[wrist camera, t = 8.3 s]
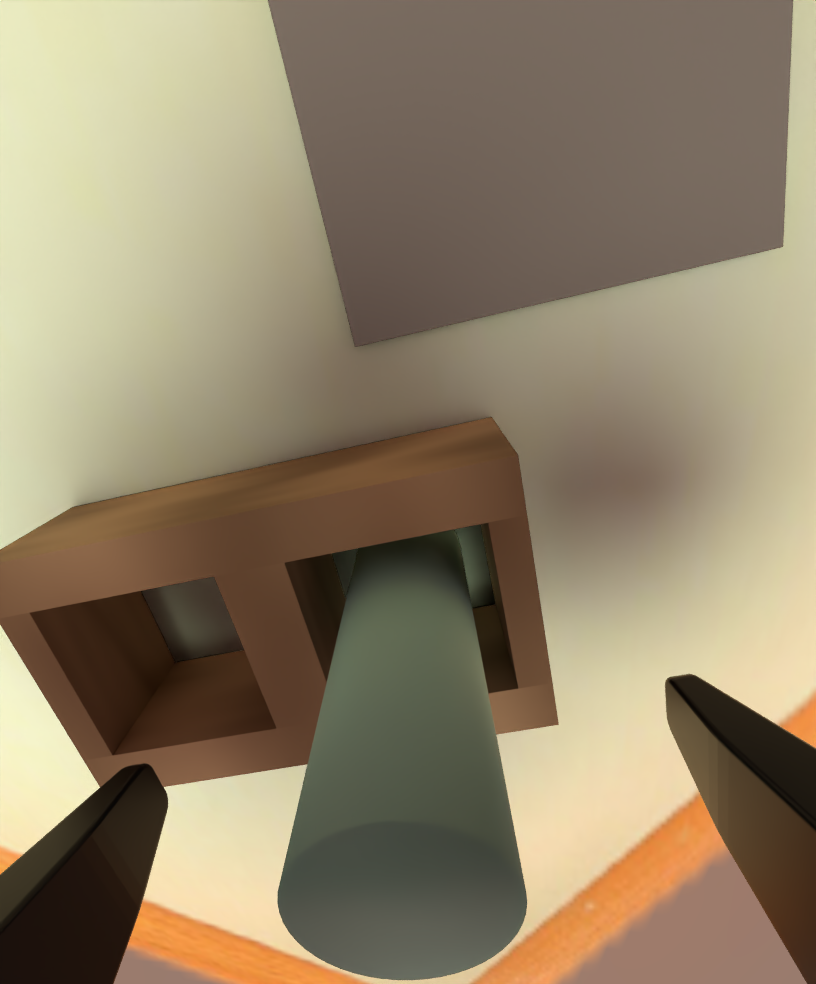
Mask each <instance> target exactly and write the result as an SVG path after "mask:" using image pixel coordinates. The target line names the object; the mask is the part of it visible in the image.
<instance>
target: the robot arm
mask: <svg viewBox="0 0 816 984" xmlns="http://www.w3.org/2000/svg"><path fill="white" fill-rule="evenodd" d="M665 693H666V712H667V720H668V724H669V727H670V730H671V732H672V734H673V736H674V738H675V741H676V743H677V745H678V747H679V749H680V751H681V753H682V756H683V758H684V760H685V762H686V764H687V766H688V768H689V771H690V773H691V775H692V777H693V779H694V781H695V783H696V786H697V788H698V790H699V792H700V794H701V796H702V798H703V801H704V803H705V805H706V807H707V809H708V811H709V813H710V816H711V818H712V820H713V822H714V824H715V826H716V828H717V830H718V832H719V834H720V835H721V837H722V839H723V841H724V843H725V844H726V846H727V848H728V850H729V851H730V853H731V855H732V856H733V858H734V860H735V862H736V863H737V865H738V867H739V868H740V870H741V872H742V873H743V875H744V877H745V879H746V880H747V882H748V884H749V885H750V887H751V889H752V891H753V892H754V894H755V896H756V897H757V899H758V901H759V902H760V904H761V906H762V908H763V909H764V911H765V913H766V914H767V916H768V918H769V919H770V921H771V923H772V924H773V926H774V928H775V929H776V931H777V933H778V935H779V936H780V938H781V940H782V942H783V943H784V945H785V947H786V948H787V950H788V952H789V953H790V955H791V957H792V959H793V960H794V962H795V964H796V965H797V967H798V969H799V970H800V972H801V974H802V976H803V977H804V979H805V981H806V982H807V984H816V748H815V747H813V746H811V745H810V744H808V743H806V742H805V741H803V740H801V739H800V738H798V737H796V736H795V735H793V734H791V733H790V732H788V731H787V730H785V729H783V728H782V727H780V726H778V725H777V724H775V723H773V722H772V721H770V720H768V719H767V718H765V717H763V716H762V715H760V714H759V713H757V712H755V711H754V710H752V709H750V708H749V707H747V706H745V705H744V704H742V703H740V702H739V701H737V700H735V699H734V698H732V697H730V696H729V695H727V694H726V693H724V692H722V691H721V690H719V689H717V688H716V687H714V686H712V685H711V684H709V683H707V682H706V681H704V680H702V679H701V678H699V677H697V676H695V675H692V674H686V675H679V676H673V677H669V678H667V680H666V682H665ZM167 809H168V797H167V793H166V791H165V789H164V787H163V786H162V784H161V782H160V780H159V778H158V777H157V775H156V773H155V771H154V769H153V768H152V766H151V765H149V764H146V763H143V764H137V765H131V766H127V767H124V768H122V769H121V770H120V771H119V772H117V773H116V774H115V775H114V776H113V777H112V778H111V779H109V780H108V781H107V782H106V783H105V784H104V785H103V786H101V787H100V788H99V789H98V790H97V791H96V792H94V793H93V794H92V795H91V796H90V797H89V798H88V799H86V800H85V801H84V802H83V803H82V804H81V805H80V806H78V807H77V808H76V809H75V810H74V811H73V812H72V813H70V814H69V815H68V816H67V817H66V818H65V819H64V820H62V821H61V822H60V823H59V824H58V825H57V826H55V827H54V828H53V829H52V830H51V831H50V832H49V833H47V834H46V835H45V836H44V837H43V838H42V839H41V840H39V841H38V842H37V843H36V844H35V845H34V846H33V847H31V848H30V849H29V850H28V851H27V852H26V853H24V854H23V855H22V856H21V857H20V858H19V859H18V860H16V861H15V862H14V863H13V864H12V865H11V866H10V867H8V868H7V869H6V870H5V871H4V872H3V873H2V874H0V984H113V983H114V981H115V978H116V975H117V973H118V970H119V967H120V964H121V961H122V959H123V956H124V953H125V950H126V948H127V945H128V942H129V939H130V936H131V934H132V931H133V928H134V925H135V922H136V919H137V916H138V913H139V910H140V907H141V904H142V900H143V897H144V894H145V890H146V887H147V883H148V879H149V876H150V872H151V868H152V865H153V861H154V857H155V854H156V850H157V846H158V842H159V839H160V835H161V831H162V828H163V824H164V820H165V817H166V813H167Z"/></svg>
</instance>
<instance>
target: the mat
mask: <svg viewBox="0 0 816 984" xmlns="http://www.w3.org/2000/svg"><path fill="white" fill-rule="evenodd" d="M268 3H269V7H270V11H271V15H272V19H273V23H274V26H275V30H276V34H277V38H278V42H279V46H280V50H281V54H282V58H283V62H284V66H285V70H286V74H287V78H288V82H289V86H290V90H291V94H292V98H293V102H294V106H295V110H296V114H297V118H298V122H299V126H300V130H301V134H302V138H303V142H304V146H305V150H306V154H307V158H308V162H309V166H310V170H311V173H312V177H313V181H314V185H315V189H316V193H317V197H318V201H319V205H320V209H321V213H322V217H323V221H324V225H325V229H326V233H327V237H328V241H329V245H330V249H331V253H332V257H333V261H334V265H335V269H336V273H337V277H338V281H339V285H340V289H341V293H342V297H343V301H344V305H345V309H346V313H347V317H348V321H349V324H350V328H351V332H352V336H353V340H354V344H355V347H357V346H361V345H366V344H370V343H374V342H378V341H383V340H387V339H391V338H396V337H400V336H404V335H408V334H413V333H417V332H421V331H425V330H430V329H434V328H438V327H443V326H447V325H451V324H455V323H460V322H464V321H468V320H472V319H477V318H481V317H485V316H489V315H494V314H498V313H502V312H507V311H511V310H515V309H519V308H524V307H528V306H532V305H536V304H541V303H545V302H549V301H554V300H558V299H562V298H566V297H571V296H575V295H579V294H583V293H588V292H592V291H596V290H601V289H605V288H609V287H613V286H618V285H622V284H626V283H630V282H635V281H639V280H643V279H648V278H652V277H656V276H660V275H665V274H669V273H673V272H677V271H682V270H686V269H690V268H695V267H699V266H703V265H707V264H712V263H716V262H720V261H724V260H729V259H733V258H737V257H742V256H746V255H750V254H754V253H759V252H763V251H767V250H771V249H776V248H780V247H783V236H784V211H785V186H786V161H787V137H788V112H789V87H790V62H791V38H792V13H793V0H268Z"/></svg>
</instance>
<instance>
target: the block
mask: <svg viewBox="0 0 816 984" xmlns="http://www.w3.org/2000/svg"><path fill="white" fill-rule="evenodd" d="M478 524H481V530H482V535H483V540H484V546H485V551H486V556H487V562H488V567H489V572H490V577H491V583H492V588H493V593H494V599H495V605H490V606H484V607H479V608H473V609H472V610H473V616H474V621H475V626H476V631H477V637H478V642H479V647H480V652H481V658H482V663H483V668H484V674H485V679H486V684H487V689H488V695H489V700H490V705H491V710H492V716H493V721H494V726H495V731H496V734H502V733H508V732H515V731H521V730H527V729H534V728H540V727H546V726H553V725H559V724H558V717H557V711H556V704H555V697H554V691H553V684H552V677H551V671H550V664H549V658H548V651H547V644H546V638H545V631H544V624H543V618H542V611H541V604H540V598H539V591H538V585H537V578H536V571H535V565H534V558H533V551H532V545H531V538H530V531H529V525H528V518H527V512H526V505H525V498H524V492H523V485H522V478H521V472H520V465H519V458H518V454H517V453H516V452H515V450H514V449H513V447H512V446H511V444H510V443H509V441H508V440H507V439H506V437H505V436H504V434H503V433H502V431H501V430H500V428H499V427H498V426H497V424H496V423H495V421H494V420H493V418H492V417H490V418H485V419H480V420H476V421H471V422H466V423H462V424H457V425H453V426H448V427H443V428H439V429H434V430H429V431H425V432H420V433H415V434H411V435H406V436H401V437H397V438H392V439H388V440H383V441H378V442H374V443H369V444H364V445H360V446H355V447H350V448H346V449H341V450H337V451H332V452H327V453H323V454H318V455H313V456H309V457H304V458H299V459H295V460H290V461H285V462H281V463H276V464H272V465H267V466H262V467H258V468H253V469H248V470H244V471H239V472H234V473H230V474H225V475H221V476H216V477H211V478H207V479H202V480H197V481H193V482H188V483H183V484H179V485H174V486H169V487H165V488H160V489H156V490H151V491H146V492H142V493H137V494H132V495H128V496H123V497H118V498H114V499H109V500H105V501H100V502H95V503H91V504H86V505H81V506H77V507H72V508H70V509H69V510H67V511H65V512H63V513H62V514H60V515H58V516H57V517H55V518H53V519H52V520H50V521H48V522H47V523H45V524H43V525H41V526H40V527H38V528H36V529H35V530H33V531H31V532H30V533H28V534H26V535H24V536H23V537H21V538H19V539H18V540H16V541H14V542H13V543H11V544H9V545H8V546H6V547H4V548H2V549H1V550H0V625H1V626H2V628H3V630H4V631H5V633H6V634H7V636H8V638H9V639H10V641H11V643H12V644H13V646H14V648H15V649H16V651H17V652H18V654H19V656H20V657H21V659H22V661H23V662H24V664H25V665H26V667H27V669H28V670H29V672H30V674H31V675H32V677H33V678H34V680H35V682H36V683H37V685H38V687H39V688H40V690H41V692H42V693H43V695H44V696H45V698H46V700H47V701H48V703H49V705H50V706H51V708H52V709H53V711H54V713H55V714H56V716H57V718H58V719H59V721H60V722H61V724H62V726H63V727H64V729H65V731H66V732H67V734H68V736H69V737H70V739H71V740H72V742H73V744H74V745H75V747H76V749H77V750H78V752H79V753H80V755H81V757H82V758H83V760H84V762H85V763H86V765H87V767H88V768H89V770H90V771H91V773H92V775H93V776H94V778H95V780H96V781H97V783H98V784H99V786H100V787H101V786H103V785H104V784H105V783H106V782H107V781H108V780H109V779H111V778H112V777H113V776H114V775H115V774H116V773H117V772H119V771H120V770H121V769H122V768H124V767H127V766H131V765H137V764H143V763H146V764H149V765H151V766H152V768H153V769H154V771H155V773H156V775H157V777H158V778H159V780H160V782H161V784H162V786H163V787H166V786H172V785H178V784H185V783H191V782H197V781H204V780H210V779H216V778H223V777H229V776H235V775H242V774H248V773H254V772H261V771H267V770H273V769H280V768H286V767H292V766H299V765H305V764H308V760H309V756H310V752H311V748H312V743H313V739H314V735H315V730H316V726H317V722H318V718H319V713H320V709H321V705H322V700H323V696H324V692H325V688H326V683H327V679H328V675H329V670H330V666H331V662H332V658H333V653H334V649H335V645H336V640H337V636H338V632H339V628H340V623H341V619H342V615H343V610H344V606H345V602H346V599H345V596H344V592H343V589H342V586H341V583H340V580H339V576H338V573H337V570H336V567H335V564H334V560H333V557H332V554H331V553H336V552H341V551H346V550H351V549H356V548H361V547H366V546H371V545H377V544H382V543H387V542H392V541H397V540H402V539H407V538H412V537H417V536H422V535H427V534H433V533H438V532H443V531H448V530H453V529H458V528H463V527H468V526H473V525H478ZM209 577H214V578H215V581H216V583H217V586H218V588H219V591H220V593H221V595H222V598H223V600H224V603H225V605H226V607H227V610H228V612H229V615H230V617H231V619H232V622H233V624H234V627H235V629H236V632H237V634H238V636H239V639H240V641H241V644H242V646H243V648H244V650H241V651H236V652H230V653H225V654H219V655H214V656H208V657H203V658H197V659H192V660H186V661H181V662H175V661H174V659H173V657H172V655H171V653H170V651H169V649H168V647H167V645H166V643H165V641H164V639H163V636H162V634H161V632H160V630H159V628H158V626H157V624H156V622H155V620H154V618H153V616H152V614H151V611H150V609H149V607H148V605H147V603H146V601H145V599H144V597H143V595H142V593H141V591H142V590H147V589H153V588H158V587H163V586H168V585H173V584H178V583H183V582H188V581H193V580H198V579H203V578H209Z"/></svg>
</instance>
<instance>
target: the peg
mask: <svg viewBox="0 0 816 984" xmlns="http://www.w3.org/2000/svg"><path fill="white" fill-rule="evenodd" d="M278 908H279V913H280V915H281V918H282V921H283V923H284V925H285V926H286V928H287V930H288V931H289V933H290V934H291V935H292V936H293V937H294V939H295V940H296V941H297V942H298V943H299V944H300V945H301V946H303V947H304V948H305V949H306V950H307V951H309V952H310V953H312V954H313V955H314V956H316V957H318V958H319V959H321V960H323V961H325V962H327V963H329V964H331V965H333V966H336V967H338V968H340V969H343V970H346V971H349V972H352V973H356V974H360V975H364V976H368V977H374V978H381V979H391V980H420V979H430V978H437V977H443V976H447V975H451V974H455V973H458V972H461V971H464V970H467V969H470V968H472V967H475V966H477V965H479V964H481V963H483V962H485V961H487V960H488V959H490V958H492V957H493V956H495V955H496V954H497V953H499V952H500V951H501V950H503V949H504V948H505V947H506V946H507V945H508V944H509V943H510V942H511V941H512V940H513V938H514V937H515V936H516V934H517V933H518V931H519V930H520V928H521V926H522V924H523V921H524V918H525V915H526V909H527V897H526V890H525V884H524V879H523V874H522V868H521V863H520V858H519V853H518V847H517V842H516V837H515V832H514V826H513V821H512V816H511V811H510V805H509V800H508V795H507V789H506V784H505V779H504V774H503V768H502V763H501V758H500V753H499V747H498V742H497V737H496V731H495V726H494V721H493V716H492V710H491V705H490V700H489V695H488V689H487V684H486V679H485V674H484V668H483V663H482V658H481V652H480V647H479V642H478V637H477V631H476V626H475V621H474V616H473V610H472V605H471V600H470V594H469V589H468V584H467V579H466V573H465V568H464V563H463V558H462V552H461V547H460V543H459V539H458V537H457V535H456V533H455V531H454V529H453V530H448V531H443V532H438V533H433V534H427V535H422V536H417V537H412V538H407V539H402V540H397V541H392V542H387V543H382V544H377V545H371V546H366V547H361V548H358V550H357V555H356V559H355V563H354V567H353V572H352V576H351V580H350V585H349V589H348V593H347V598H346V602H345V606H344V610H343V615H342V619H341V623H340V628H339V632H338V636H337V640H336V645H335V649H334V653H333V658H332V662H331V666H330V670H329V675H328V679H327V683H326V688H325V692H324V696H323V700H322V705H321V709H320V713H319V718H318V722H317V726H316V730H315V735H314V739H313V743H312V748H311V752H310V756H309V760H308V765H307V769H306V773H305V778H304V782H303V786H302V790H301V795H300V799H299V803H298V808H297V812H296V816H295V820H294V825H293V829H292V833H291V838H290V842H289V846H288V851H287V855H286V859H285V863H284V868H283V872H282V876H281V881H280V885H279V889H278Z"/></svg>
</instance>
